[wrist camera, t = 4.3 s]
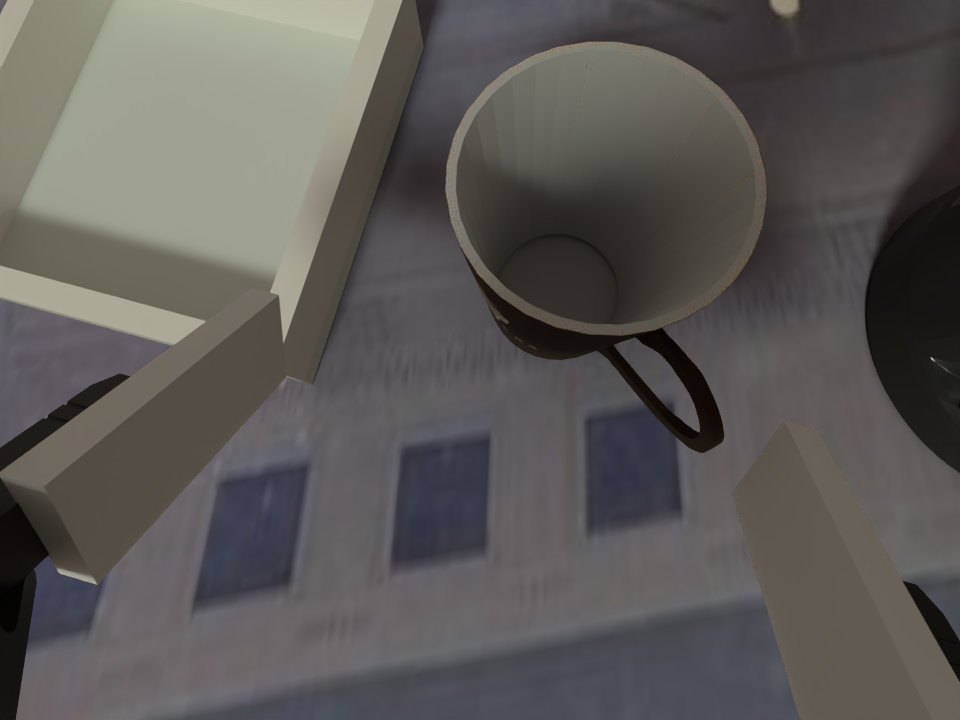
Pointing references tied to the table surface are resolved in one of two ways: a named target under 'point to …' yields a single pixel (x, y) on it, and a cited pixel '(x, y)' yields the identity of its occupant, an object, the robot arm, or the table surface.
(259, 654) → the table surface
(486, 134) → the coffee mug
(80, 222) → the white storage tray
